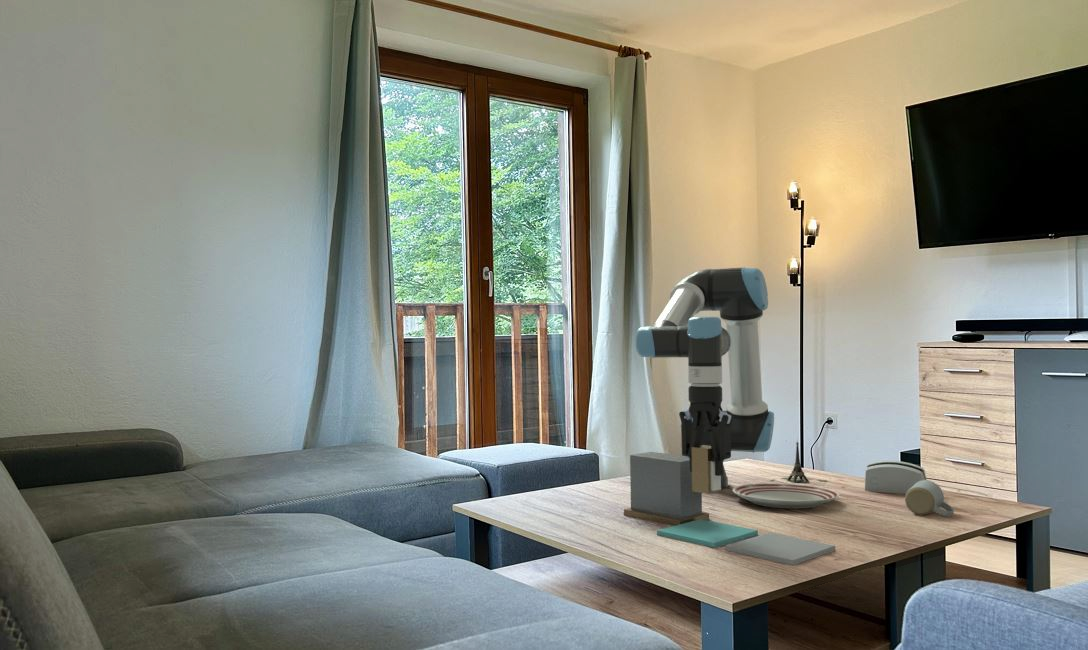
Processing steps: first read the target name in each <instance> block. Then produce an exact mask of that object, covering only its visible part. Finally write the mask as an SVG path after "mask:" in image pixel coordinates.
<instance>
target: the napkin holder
mask: <svg viewBox="0 0 1088 650" xmlns="http://www.w3.org/2000/svg"><path fill="white" fill-rule="evenodd" d="M922 480H927V476H926V472H925V469H924V468H923V467H922V466H919V465H918V464H913V463H911V462H905V461H899V460H882V461H875V462H871V463H869V464H868V465H867V466H866V468H865V479H864V491H867V492H881V493H890V494H891V493H892V494H901V495H906V493H907V491H908V490H909V489H910V488H911V487H912V486H913V485H915V484H916V483H917V482H919V481H922Z"/></svg>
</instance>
